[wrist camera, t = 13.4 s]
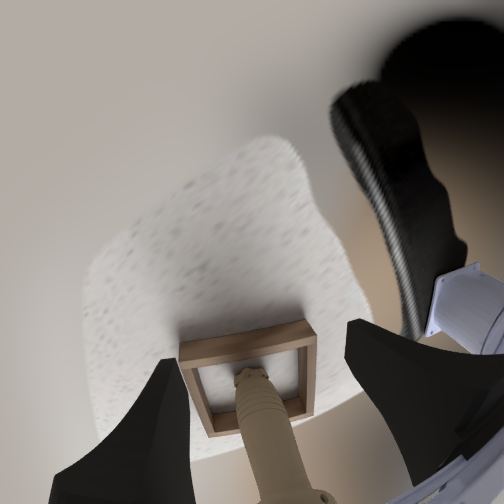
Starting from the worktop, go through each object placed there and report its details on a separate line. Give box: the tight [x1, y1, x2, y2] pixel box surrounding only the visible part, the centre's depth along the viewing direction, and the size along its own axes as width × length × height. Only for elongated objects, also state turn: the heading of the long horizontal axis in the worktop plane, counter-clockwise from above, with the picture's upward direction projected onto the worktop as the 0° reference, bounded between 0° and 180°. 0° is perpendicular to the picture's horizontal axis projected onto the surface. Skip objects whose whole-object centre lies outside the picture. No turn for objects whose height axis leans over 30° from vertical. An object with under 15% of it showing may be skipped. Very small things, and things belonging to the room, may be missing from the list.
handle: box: [234, 368, 337, 504], centre depth 17 cm, size 5×6×15 cm
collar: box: [179, 319, 317, 438], centre depth 22 cm, size 11×11×3 cm
